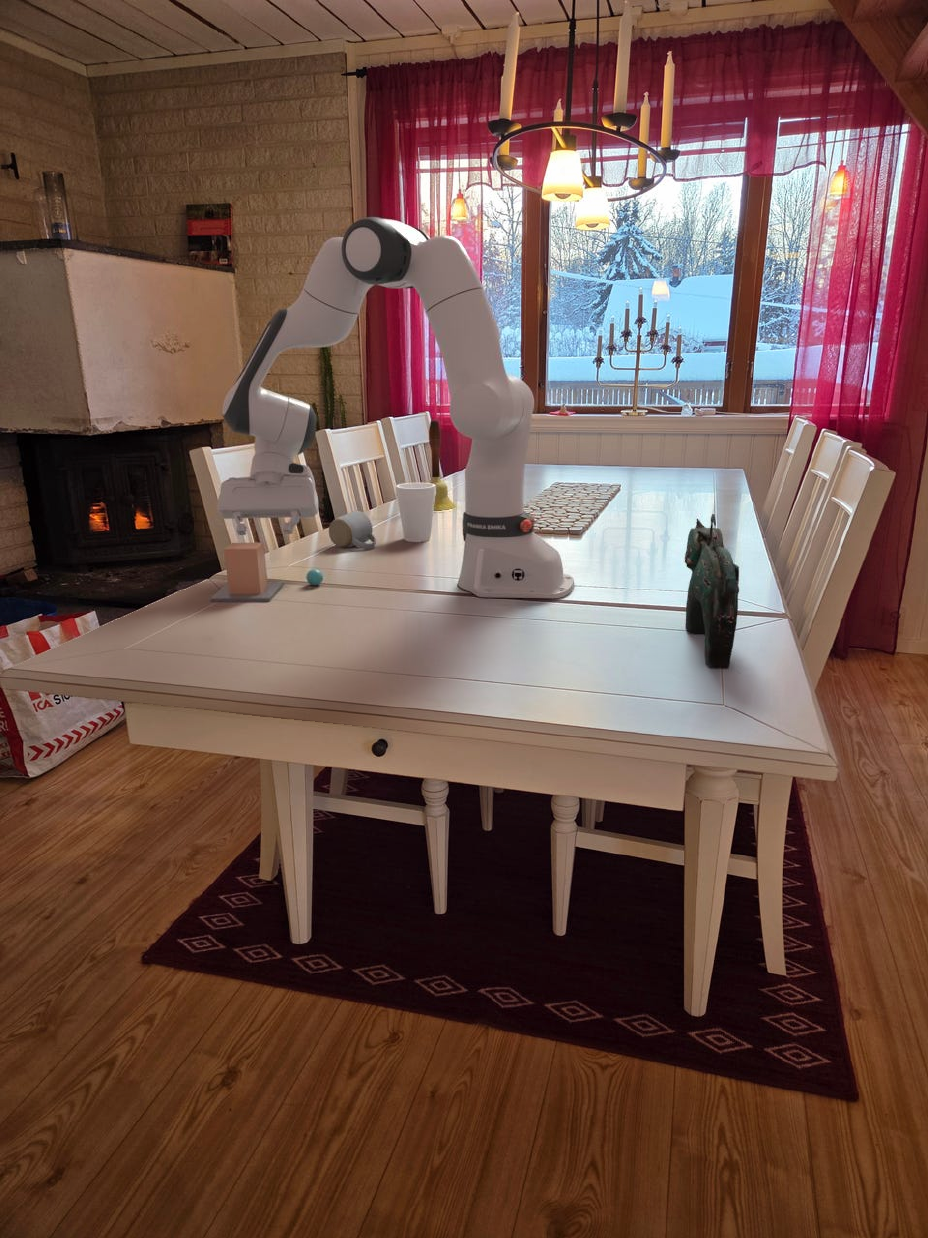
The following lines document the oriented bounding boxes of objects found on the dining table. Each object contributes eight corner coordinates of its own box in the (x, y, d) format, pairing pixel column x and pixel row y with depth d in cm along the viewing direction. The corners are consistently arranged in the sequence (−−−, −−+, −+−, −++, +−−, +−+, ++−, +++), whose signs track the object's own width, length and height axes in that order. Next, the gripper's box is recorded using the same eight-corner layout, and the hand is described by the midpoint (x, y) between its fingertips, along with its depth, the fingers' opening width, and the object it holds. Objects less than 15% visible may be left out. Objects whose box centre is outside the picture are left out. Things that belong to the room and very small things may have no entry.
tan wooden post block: (267, 586, 153) (263, 542, 151) (260, 593, 149) (256, 548, 146) (237, 586, 154) (232, 542, 151) (229, 593, 149) (224, 548, 146)
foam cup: (431, 544, 188) (429, 489, 184) (393, 542, 190) (391, 488, 186) (440, 535, 197) (439, 482, 193) (404, 534, 198) (402, 482, 194)
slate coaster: (284, 584, 156) (283, 581, 156) (269, 601, 146) (269, 598, 146) (228, 585, 157) (228, 582, 156) (210, 601, 146) (210, 598, 146)
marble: (326, 583, 157) (325, 567, 156) (319, 587, 154) (317, 571, 153) (311, 582, 158) (310, 566, 157) (304, 586, 155) (302, 570, 154)
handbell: (464, 506, 234) (463, 418, 226) (446, 513, 223) (444, 422, 215) (427, 503, 239) (424, 418, 231) (407, 510, 228) (404, 421, 220)
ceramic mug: (326, 547, 186) (325, 514, 184) (349, 540, 193) (347, 508, 190) (362, 553, 181) (361, 519, 179) (384, 545, 188) (383, 513, 185)
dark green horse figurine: (676, 624, 131) (686, 504, 125) (717, 625, 130) (728, 504, 124) (698, 670, 112) (710, 531, 106) (745, 671, 112) (760, 531, 105)
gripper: (217, 468, 163) (208, 525, 157) (316, 466, 162) (310, 523, 156) (227, 487, 169) (218, 542, 162) (322, 485, 168) (317, 540, 162)
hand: (264, 533), depth 159 cm, fingers open, 8 cm apart
